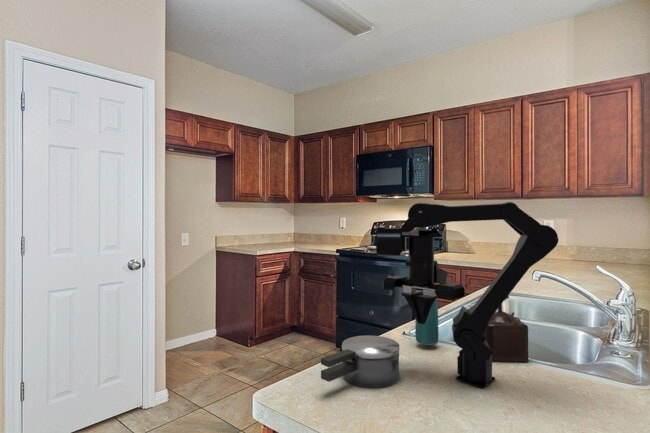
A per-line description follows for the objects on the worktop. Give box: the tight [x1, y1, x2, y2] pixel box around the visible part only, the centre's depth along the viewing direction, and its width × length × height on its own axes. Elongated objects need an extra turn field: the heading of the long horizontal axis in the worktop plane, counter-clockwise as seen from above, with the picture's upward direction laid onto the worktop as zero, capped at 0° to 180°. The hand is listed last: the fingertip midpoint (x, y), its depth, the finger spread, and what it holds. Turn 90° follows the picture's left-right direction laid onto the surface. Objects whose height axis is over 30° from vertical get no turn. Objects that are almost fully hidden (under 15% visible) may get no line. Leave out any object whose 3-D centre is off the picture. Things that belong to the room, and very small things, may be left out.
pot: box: [320, 352, 400, 389], centre depth 88 cm, size 14×21×6 cm, turn 133°
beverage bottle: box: [414, 287, 440, 346], centre depth 111 cm, size 6×7×20 cm
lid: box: [320, 335, 400, 368], centre depth 88 cm, size 13×21×1 cm, turn 133°
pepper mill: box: [484, 295, 530, 364], centre depth 106 cm, size 16×11×18 cm
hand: (421, 323), depth 91 cm, fingers closed
